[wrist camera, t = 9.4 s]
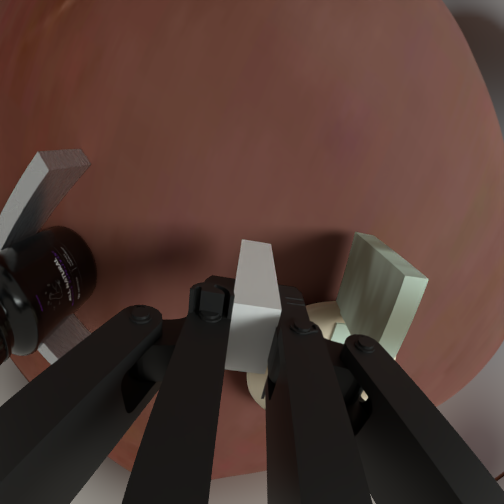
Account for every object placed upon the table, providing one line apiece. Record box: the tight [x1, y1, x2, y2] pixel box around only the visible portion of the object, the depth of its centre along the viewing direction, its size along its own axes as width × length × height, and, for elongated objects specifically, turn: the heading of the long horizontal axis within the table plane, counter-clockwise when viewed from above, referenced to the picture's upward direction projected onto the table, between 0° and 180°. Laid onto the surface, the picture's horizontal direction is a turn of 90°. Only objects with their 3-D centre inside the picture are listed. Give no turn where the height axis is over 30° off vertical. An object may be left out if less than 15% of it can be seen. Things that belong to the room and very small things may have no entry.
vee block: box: [0, 149, 91, 365], centre depth 17 cm, size 18×10×5 cm, turn 171°
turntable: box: [247, 232, 429, 410], centre depth 17 cm, size 17×12×7 cm
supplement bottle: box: [0, 226, 97, 365], centre depth 14 cm, size 7×7×12 cm
